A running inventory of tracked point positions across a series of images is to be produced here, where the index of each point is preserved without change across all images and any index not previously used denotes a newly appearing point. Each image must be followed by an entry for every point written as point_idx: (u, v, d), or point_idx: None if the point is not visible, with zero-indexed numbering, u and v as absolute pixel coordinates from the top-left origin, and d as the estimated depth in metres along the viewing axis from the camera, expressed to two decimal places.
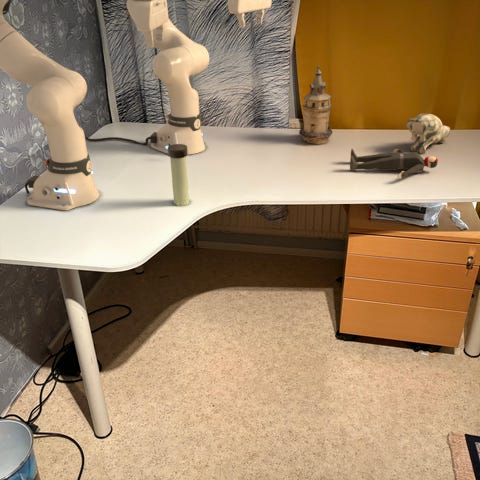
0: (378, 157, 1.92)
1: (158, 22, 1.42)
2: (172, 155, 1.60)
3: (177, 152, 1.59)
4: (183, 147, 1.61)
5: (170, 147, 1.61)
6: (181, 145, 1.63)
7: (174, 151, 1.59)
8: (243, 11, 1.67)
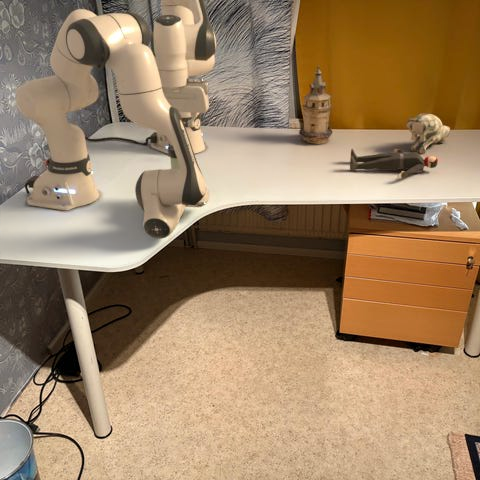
0: (378, 157, 1.92)
1: None
2: (172, 155, 1.60)
3: None
4: None
5: (170, 147, 1.61)
6: None
7: (174, 151, 1.59)
8: None
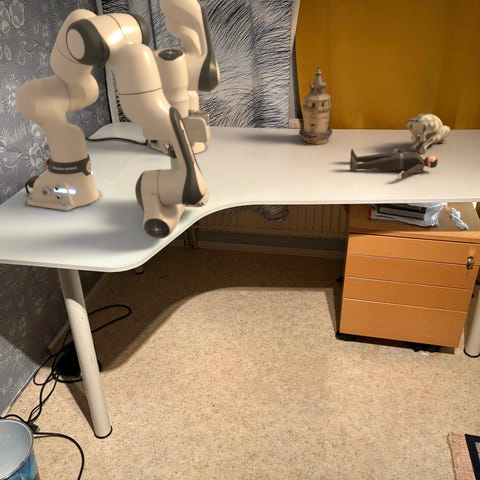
0: (378, 157, 1.92)
1: None
2: (172, 155, 1.60)
3: None
4: None
5: (170, 147, 1.61)
6: None
7: (174, 151, 1.59)
8: (153, 138, 1.60)
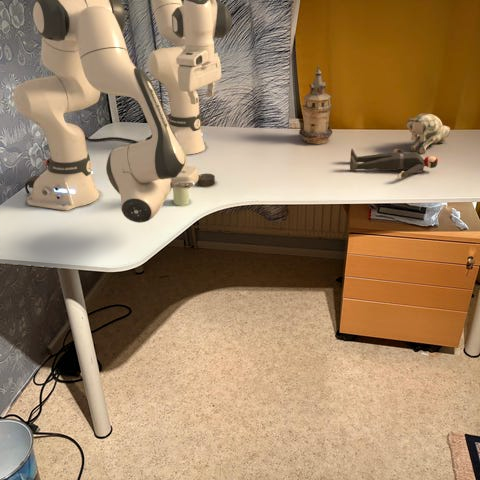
0: (378, 157, 1.92)
1: None
2: (202, 184, 1.81)
3: (207, 181, 1.80)
4: (211, 176, 1.82)
5: (199, 177, 1.82)
6: (209, 175, 1.84)
7: (204, 181, 1.80)
8: (194, 88, 1.61)
